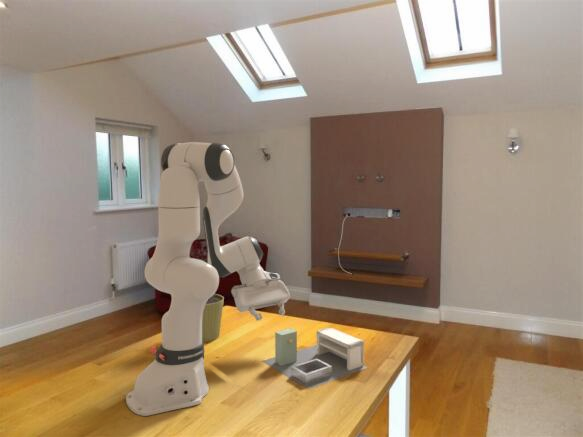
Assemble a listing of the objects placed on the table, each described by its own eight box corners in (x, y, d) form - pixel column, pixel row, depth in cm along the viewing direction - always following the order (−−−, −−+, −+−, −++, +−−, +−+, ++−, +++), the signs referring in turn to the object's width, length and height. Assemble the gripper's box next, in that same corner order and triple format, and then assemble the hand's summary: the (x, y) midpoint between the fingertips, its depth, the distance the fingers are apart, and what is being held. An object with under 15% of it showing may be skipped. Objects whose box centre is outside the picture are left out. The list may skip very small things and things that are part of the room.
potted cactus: (175, 341, 169) (173, 261, 166) (195, 328, 184) (194, 254, 180) (213, 346, 164) (211, 264, 161) (231, 332, 179) (230, 256, 176)
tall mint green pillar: (283, 366, 145) (283, 336, 144) (275, 362, 148) (275, 332, 147) (298, 362, 148) (298, 332, 147) (290, 357, 152) (290, 328, 151)
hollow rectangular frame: (305, 385, 133) (305, 375, 132) (291, 376, 138) (291, 366, 138) (331, 375, 139) (332, 366, 138) (316, 367, 144) (316, 358, 144)
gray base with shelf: (308, 393, 130) (308, 362, 129) (262, 364, 149) (261, 337, 148) (367, 371, 144) (368, 343, 144) (318, 347, 164) (318, 322, 163)
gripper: (232, 281, 153) (248, 318, 146) (282, 273, 165) (299, 306, 158) (226, 292, 157) (241, 327, 150) (275, 283, 169) (291, 315, 162)
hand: (271, 316), depth 154 cm, fingers open, 8 cm apart
